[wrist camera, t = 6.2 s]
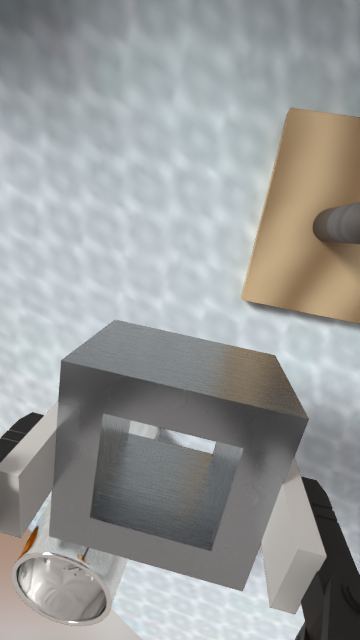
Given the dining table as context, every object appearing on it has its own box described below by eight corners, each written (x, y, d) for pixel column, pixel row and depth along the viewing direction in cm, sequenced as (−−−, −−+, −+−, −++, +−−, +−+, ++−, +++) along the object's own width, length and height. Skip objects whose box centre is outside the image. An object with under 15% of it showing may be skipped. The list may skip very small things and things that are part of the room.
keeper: (241, 296, 25) (248, 320, 18) (286, 114, 20) (319, 55, 14) (355, 319, 24) (407, 353, 17) (429, 135, 19) (540, 82, 13)
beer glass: (169, 452, 31) (125, 634, 17) (111, 453, 33) (27, 623, 18) (157, 398, 29) (98, 553, 15) (97, 402, 31) (-9, 549, 16)
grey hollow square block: (98, 448, 16) (48, 536, 11) (115, 319, 14) (61, 360, 9) (234, 483, 15) (242, 591, 11) (275, 355, 13) (308, 419, 8)
